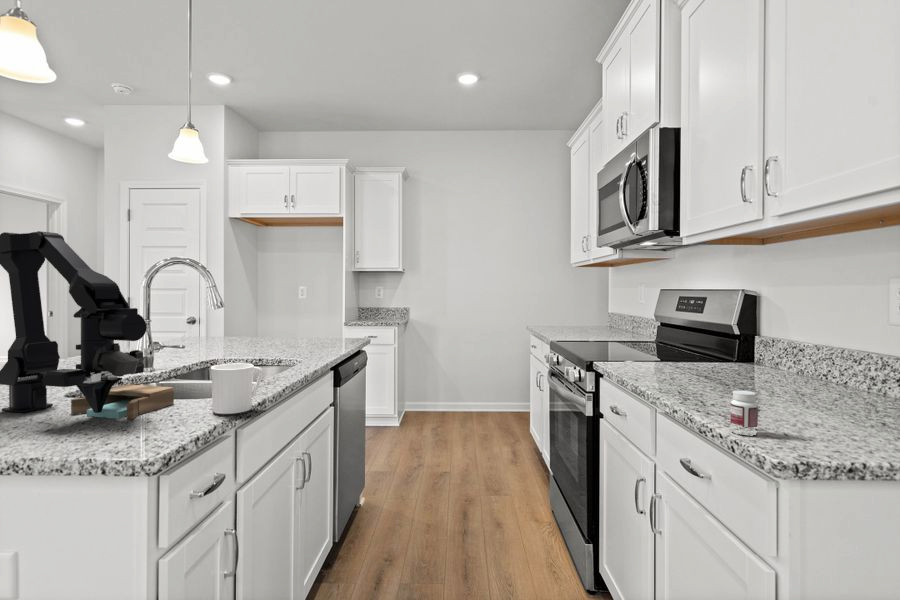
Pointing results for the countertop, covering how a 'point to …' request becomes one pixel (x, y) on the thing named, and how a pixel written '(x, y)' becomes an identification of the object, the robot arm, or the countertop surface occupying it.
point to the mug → (233, 388)
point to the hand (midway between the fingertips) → (97, 412)
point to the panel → (112, 409)
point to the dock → (146, 401)
